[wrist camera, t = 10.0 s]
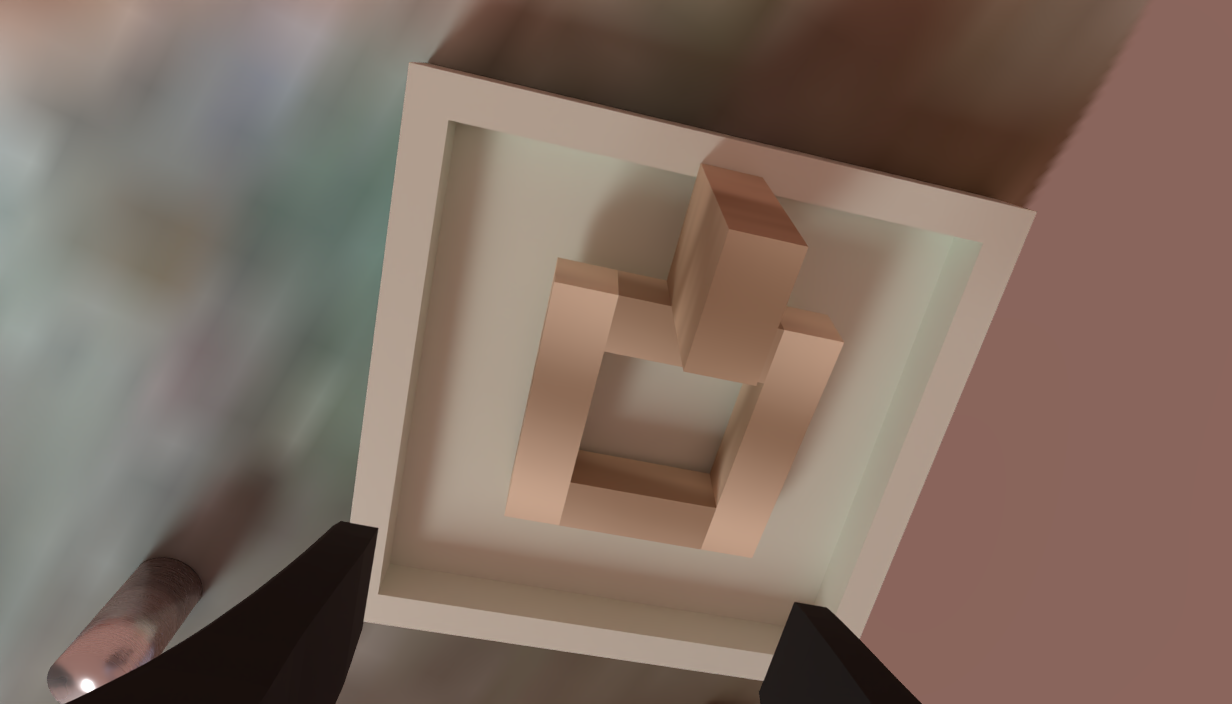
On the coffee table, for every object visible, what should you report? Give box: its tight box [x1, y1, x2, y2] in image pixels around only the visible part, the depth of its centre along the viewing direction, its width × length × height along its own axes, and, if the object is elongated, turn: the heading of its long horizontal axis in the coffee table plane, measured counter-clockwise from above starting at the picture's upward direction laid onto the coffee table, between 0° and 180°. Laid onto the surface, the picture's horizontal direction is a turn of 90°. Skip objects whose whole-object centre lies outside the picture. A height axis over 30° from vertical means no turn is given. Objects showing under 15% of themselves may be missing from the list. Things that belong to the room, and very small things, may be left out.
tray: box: [350, 62, 1037, 681], centre depth 21 cm, size 15×15×2 cm
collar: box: [504, 163, 844, 558], centre depth 18 cm, size 10×7×4 cm
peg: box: [47, 558, 202, 704], centre depth 21 cm, size 2×2×4 cm
